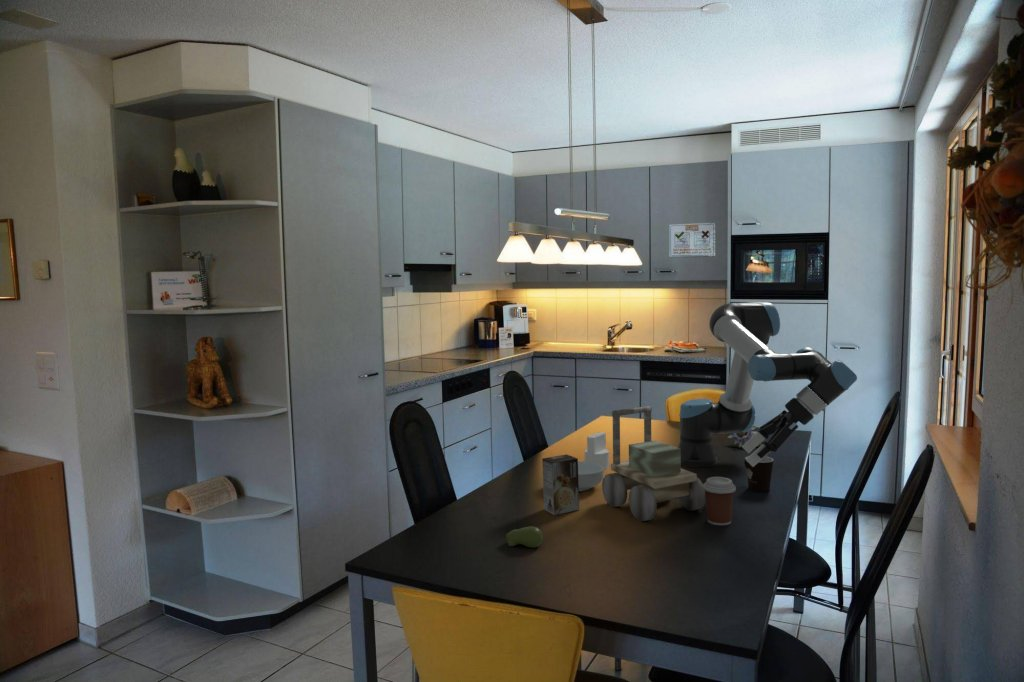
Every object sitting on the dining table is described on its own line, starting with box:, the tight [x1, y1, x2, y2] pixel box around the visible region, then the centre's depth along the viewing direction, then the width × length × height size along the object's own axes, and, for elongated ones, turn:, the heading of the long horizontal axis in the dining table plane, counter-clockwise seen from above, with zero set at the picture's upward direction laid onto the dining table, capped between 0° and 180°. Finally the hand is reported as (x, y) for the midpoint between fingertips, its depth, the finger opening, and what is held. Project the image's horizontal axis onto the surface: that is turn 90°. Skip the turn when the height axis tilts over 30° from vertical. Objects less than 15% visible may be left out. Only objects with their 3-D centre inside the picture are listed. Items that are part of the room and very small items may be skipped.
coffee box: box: [541, 454, 580, 516], centre depth 202 cm, size 9×6×16 cm
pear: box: [505, 526, 544, 549], centre depth 176 cm, size 6×5×10 cm
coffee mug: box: [743, 455, 774, 493], centre depth 219 cm, size 12×9×10 cm
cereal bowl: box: [578, 460, 605, 492], centre depth 224 cm, size 17×17×7 cm
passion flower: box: [726, 425, 764, 448], centre depth 274 cm, size 11×11×12 cm
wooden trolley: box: [601, 405, 706, 522], centre depth 202 cm, size 24×21×29 cm
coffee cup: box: [702, 476, 737, 527], centre depth 190 cm, size 9×9×12 cm
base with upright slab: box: [584, 431, 610, 470], centre depth 248 cm, size 9×9×12 cm
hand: (747, 456), depth 191 cm, fingers open, 13 cm apart
